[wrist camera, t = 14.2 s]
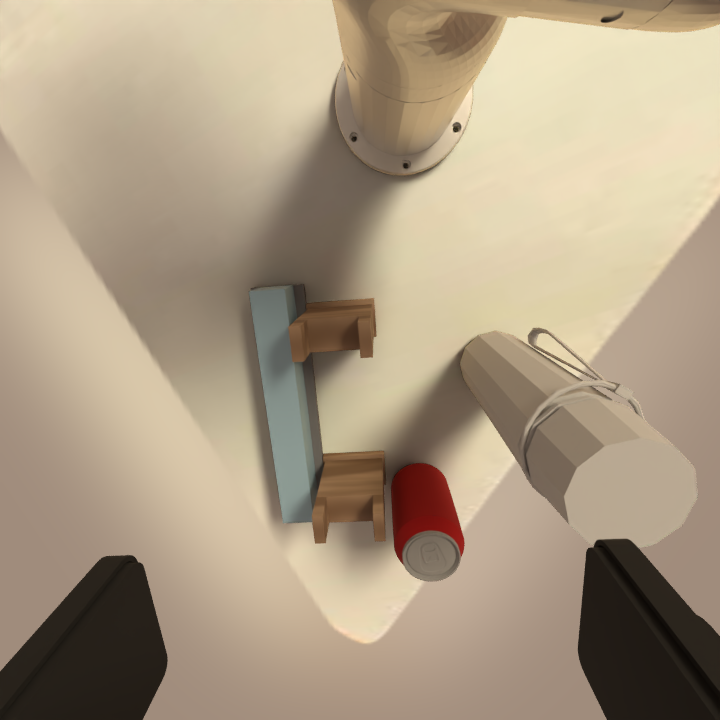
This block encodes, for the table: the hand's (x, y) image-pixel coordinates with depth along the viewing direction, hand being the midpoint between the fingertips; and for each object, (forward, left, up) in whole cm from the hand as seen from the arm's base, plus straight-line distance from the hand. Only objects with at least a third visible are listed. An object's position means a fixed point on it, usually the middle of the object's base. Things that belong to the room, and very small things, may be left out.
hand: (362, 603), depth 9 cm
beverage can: (+21, +4, -36) cm, 42 cm away
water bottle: (+5, +13, -36) cm, 39 cm away
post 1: (0, -3, -36) cm, 36 cm away
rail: (+9, -10, -36) cm, 38 cm away
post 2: (+18, -3, -36) cm, 41 cm away
